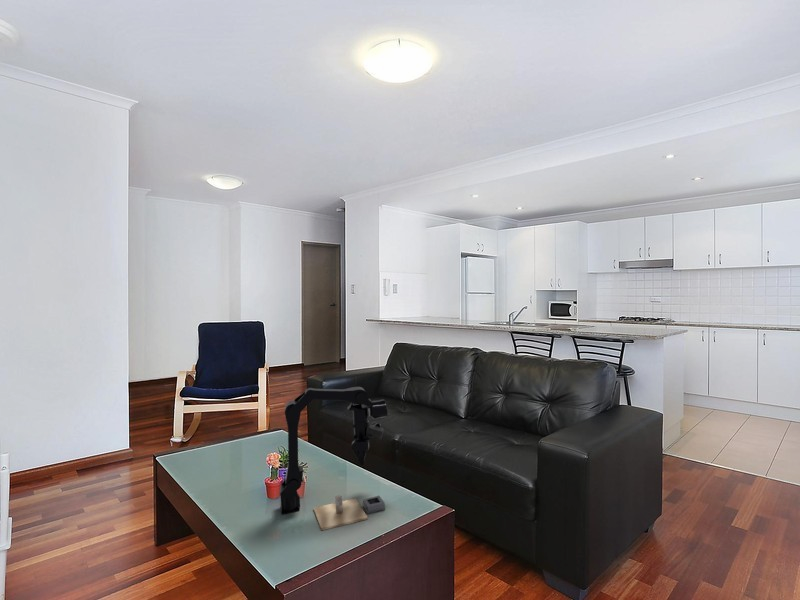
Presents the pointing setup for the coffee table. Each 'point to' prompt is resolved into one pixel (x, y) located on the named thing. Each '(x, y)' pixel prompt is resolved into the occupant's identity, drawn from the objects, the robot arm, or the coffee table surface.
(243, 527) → the coffee table surface
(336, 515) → the wooden peg base
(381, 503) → the collar
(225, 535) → the coffee table surface
